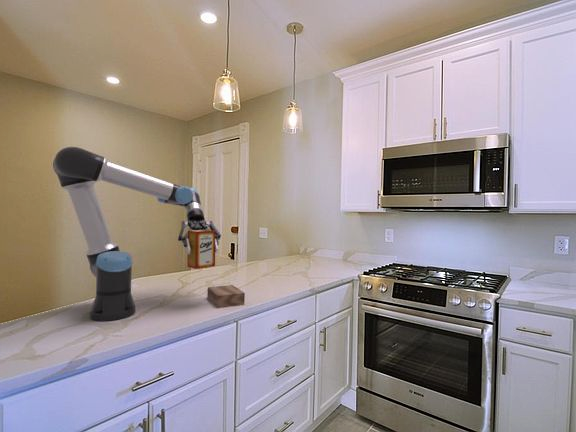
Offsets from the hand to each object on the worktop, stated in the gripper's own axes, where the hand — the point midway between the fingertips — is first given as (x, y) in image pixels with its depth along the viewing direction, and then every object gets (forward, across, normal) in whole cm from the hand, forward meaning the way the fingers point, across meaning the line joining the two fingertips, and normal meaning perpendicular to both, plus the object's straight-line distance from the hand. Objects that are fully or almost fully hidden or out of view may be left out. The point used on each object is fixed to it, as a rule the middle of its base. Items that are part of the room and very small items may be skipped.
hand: (203, 251), depth 129 cm
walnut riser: (+15, -11, -18) cm, 26 cm away
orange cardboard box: (+3, 0, -7) cm, 8 cm away
